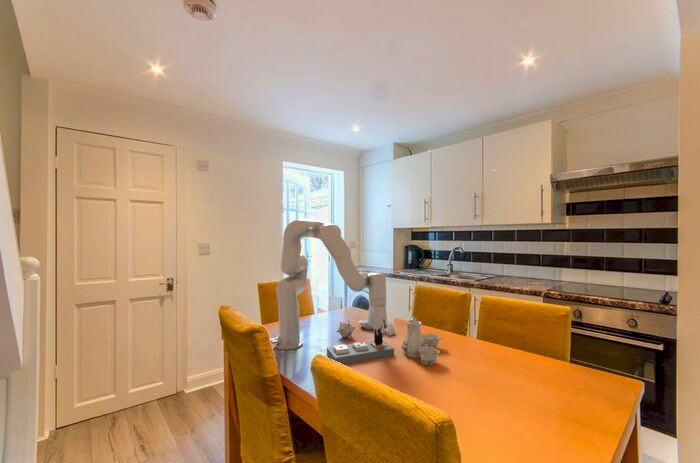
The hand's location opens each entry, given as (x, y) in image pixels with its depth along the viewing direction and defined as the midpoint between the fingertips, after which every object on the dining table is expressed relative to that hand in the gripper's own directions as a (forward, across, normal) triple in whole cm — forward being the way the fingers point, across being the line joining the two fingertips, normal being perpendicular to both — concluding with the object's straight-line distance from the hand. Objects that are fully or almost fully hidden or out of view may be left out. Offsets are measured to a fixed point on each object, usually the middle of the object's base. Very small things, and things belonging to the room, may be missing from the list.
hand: (378, 343), depth 140 cm
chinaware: (+4, +9, +16) cm, 19 cm away
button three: (+3, 0, 0) cm, 3 cm away
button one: (+2, 0, -17) cm, 17 cm away
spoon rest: (+4, -30, +13) cm, 33 cm away
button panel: (+4, 0, -8) cm, 9 cm away
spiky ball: (+4, -24, -6) cm, 25 cm away
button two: (+2, 0, -9) cm, 9 cm away
